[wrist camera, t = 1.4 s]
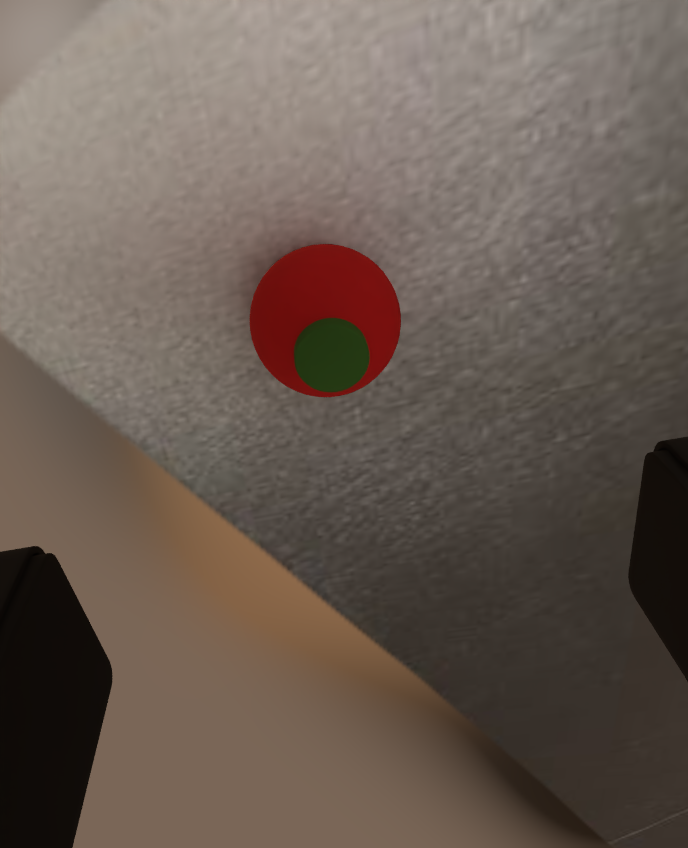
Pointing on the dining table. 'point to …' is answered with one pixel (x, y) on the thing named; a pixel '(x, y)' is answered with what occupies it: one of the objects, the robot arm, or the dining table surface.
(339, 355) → the cherry tomato
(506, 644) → the dining table surface
